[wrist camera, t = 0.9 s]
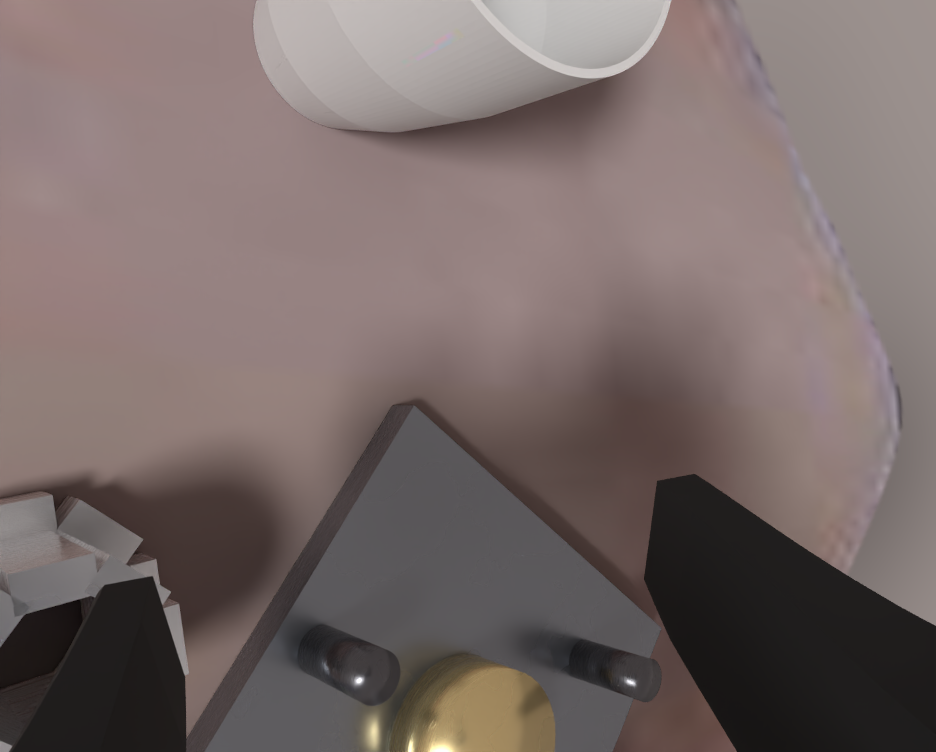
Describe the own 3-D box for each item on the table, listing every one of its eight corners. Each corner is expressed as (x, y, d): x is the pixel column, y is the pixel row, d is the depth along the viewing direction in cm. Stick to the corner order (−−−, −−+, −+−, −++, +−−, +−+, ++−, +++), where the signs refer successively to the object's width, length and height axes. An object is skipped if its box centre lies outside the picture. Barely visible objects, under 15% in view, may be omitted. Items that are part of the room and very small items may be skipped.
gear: (43, 794, 20) (100, 890, 16) (-214, 688, 17) (-221, 773, 13) (193, 573, 22) (274, 608, 18) (-10, 447, 19) (36, 456, 15)
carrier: (470, 1028, 27) (559, 1112, 24) (92, 892, 20) (146, 985, 17) (637, 622, 33) (727, 645, 30) (392, 405, 26) (475, 404, 23)
